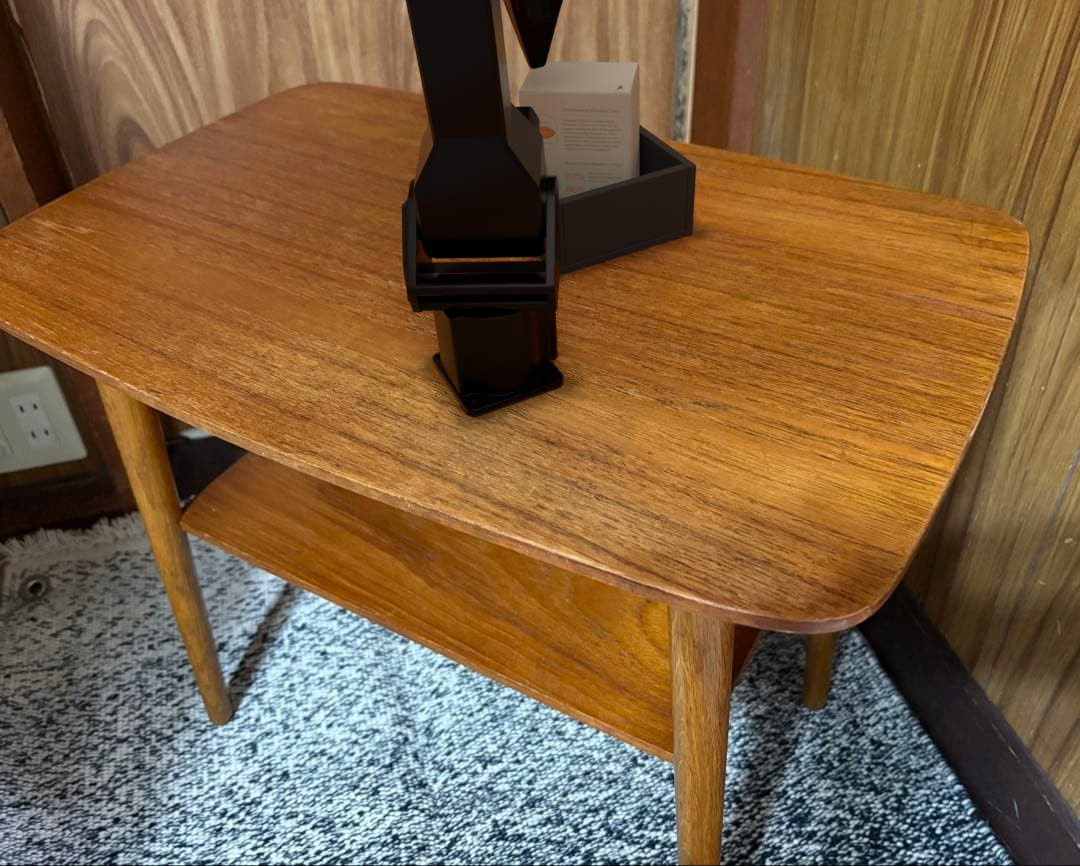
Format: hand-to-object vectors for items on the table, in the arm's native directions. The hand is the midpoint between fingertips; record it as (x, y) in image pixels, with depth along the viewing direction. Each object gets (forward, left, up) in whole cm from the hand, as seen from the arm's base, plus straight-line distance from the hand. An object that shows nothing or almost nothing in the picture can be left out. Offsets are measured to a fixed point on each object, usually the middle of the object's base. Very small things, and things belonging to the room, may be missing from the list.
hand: (509, 46), depth 69 cm
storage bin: (+4, -3, -13) cm, 14 cm away
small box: (+4, -3, -13) cm, 14 cm away
